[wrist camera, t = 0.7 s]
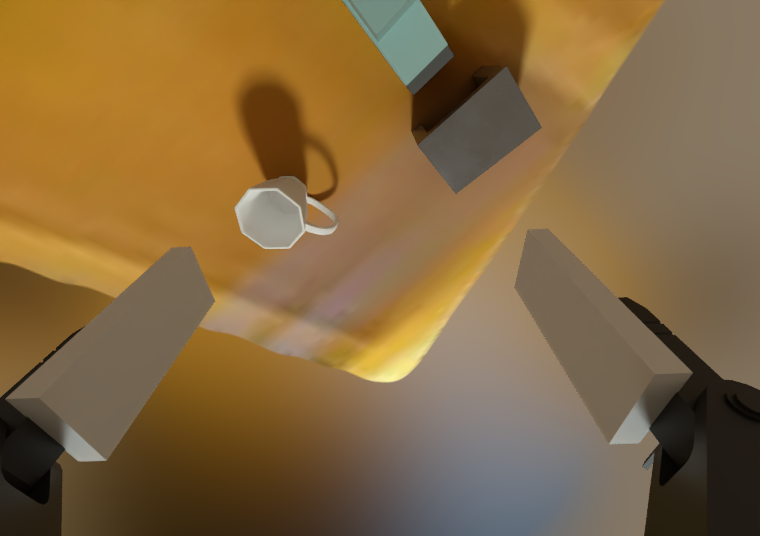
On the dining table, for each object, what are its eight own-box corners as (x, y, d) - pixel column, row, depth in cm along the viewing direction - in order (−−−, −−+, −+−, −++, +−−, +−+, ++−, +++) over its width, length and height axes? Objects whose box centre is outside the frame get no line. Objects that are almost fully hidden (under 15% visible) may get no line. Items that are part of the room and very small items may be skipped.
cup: (266, 153, 35) (238, 174, 29) (350, 185, 37) (343, 211, 31) (256, 208, 39) (229, 238, 32) (333, 234, 41) (324, 268, 34)
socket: (411, 131, 34) (417, 145, 28) (482, 66, 31) (506, 66, 25) (443, 172, 36) (455, 193, 30) (512, 116, 33) (541, 127, 27)
